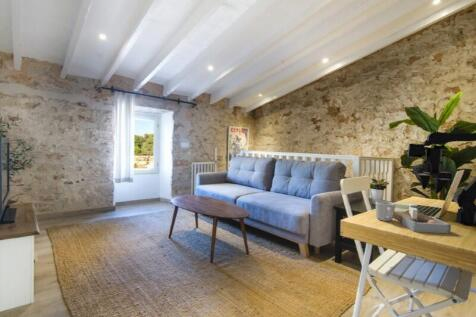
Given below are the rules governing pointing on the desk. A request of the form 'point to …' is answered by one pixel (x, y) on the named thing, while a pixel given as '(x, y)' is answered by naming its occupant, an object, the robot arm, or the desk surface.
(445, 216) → the desk surface
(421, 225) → the bin
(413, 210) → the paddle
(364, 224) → the desk surface
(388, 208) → the cup
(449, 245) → the desk surface
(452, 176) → the robot arm
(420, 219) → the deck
